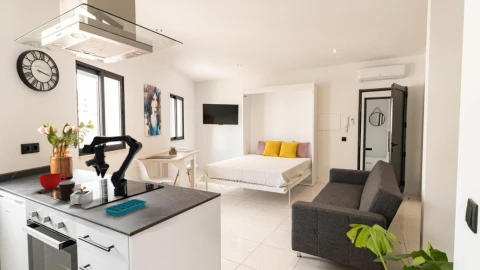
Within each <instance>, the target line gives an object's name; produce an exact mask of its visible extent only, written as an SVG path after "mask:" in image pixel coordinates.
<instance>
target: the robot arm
mask: <svg viewBox="0 0 480 270" xmlns="http://www.w3.org/2000/svg"><path fill="white" fill-rule="evenodd" d="M114 142H115V143H116V142H125V143H126V145H127V146H128V147H129V148H128V153H127V154H126V157H125V158H124V160H123V162H122V164H121V166H120V167H119V168H118V170H115V171H114V172H112V175H111V176H110V182H111V184H112V186H113V196H114V197H116V196H117V197H121V196H125V195H126V194H127V187H126V186H127V184H128V180H127V179H126V178H125V176H126V172H127V170H128V168H129V167H130V165H131V164H132V162H133V161H134V160H133V159H134V158H135V156H136V155H137V154H138V153H139V152H140V151H141V150H142V149H143V143H142V142H140V141H138V140H137V139H135V138H134V137H132V136H131V135H129V134H125V135H115V136H114V135H113V136H107V135H96V136H94V137H93V139H92V141H91V142H90V143H89V144H88V143H87V144H83V147H82V149H81V153H82V154H83V155H93V158H91V159H88V160H86V161H84V164H85V166H86V167H92V168H93V169H94V170H95V173H96V175H97V177H99V176H100V177H101V179H104V178H105V176H106V174H107V172H108V170H109V168H110V164H109V163H107V162H106V154H105V151H106V150H105V149H106V148H108V147H109V146H108V145H106V144H107V143H114Z"/></svg>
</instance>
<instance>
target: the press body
mask: <svg viewBox="0 0 480 270" xmlns="http://www.w3.org/2000/svg"><path fill="white" fill-rule="evenodd" d="M93 199H94V191H93V189H91V190H88V189H87V190H83V194H81V190H76V191H74V193H73V194H71V195H70V199H69V200H70V206H75V205H74V204H81V205H88V204H89V203H91V202H92V201H93ZM90 201H91V202H90Z"/></svg>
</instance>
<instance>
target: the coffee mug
mask: <svg viewBox="0 0 480 270" xmlns="http://www.w3.org/2000/svg"><path fill="white" fill-rule="evenodd" d="M58 187H59V192H60V198H61V200H63V199H65V200H70V195H71V194H73V193H75V187H76V181H74V180H73V181H71V180H69V181H62V182H60V183H59V185H58Z"/></svg>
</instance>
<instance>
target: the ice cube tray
mask: <svg viewBox="0 0 480 270" xmlns="http://www.w3.org/2000/svg"><path fill="white" fill-rule="evenodd" d="M146 203H147V201H146V200H142V199H138V198H132V199H129V200H126V201H123V202H120V203H117V204H114V205H111V206H108V207H105V208H104V209H103V211H105V213H106V215H108V216H109V215H110V216H113V217H116V218H117V217H121V216H123V215H126V214H129V213H132V212H133V211H137V210H139V209H142V208H144V207H146Z"/></svg>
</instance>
